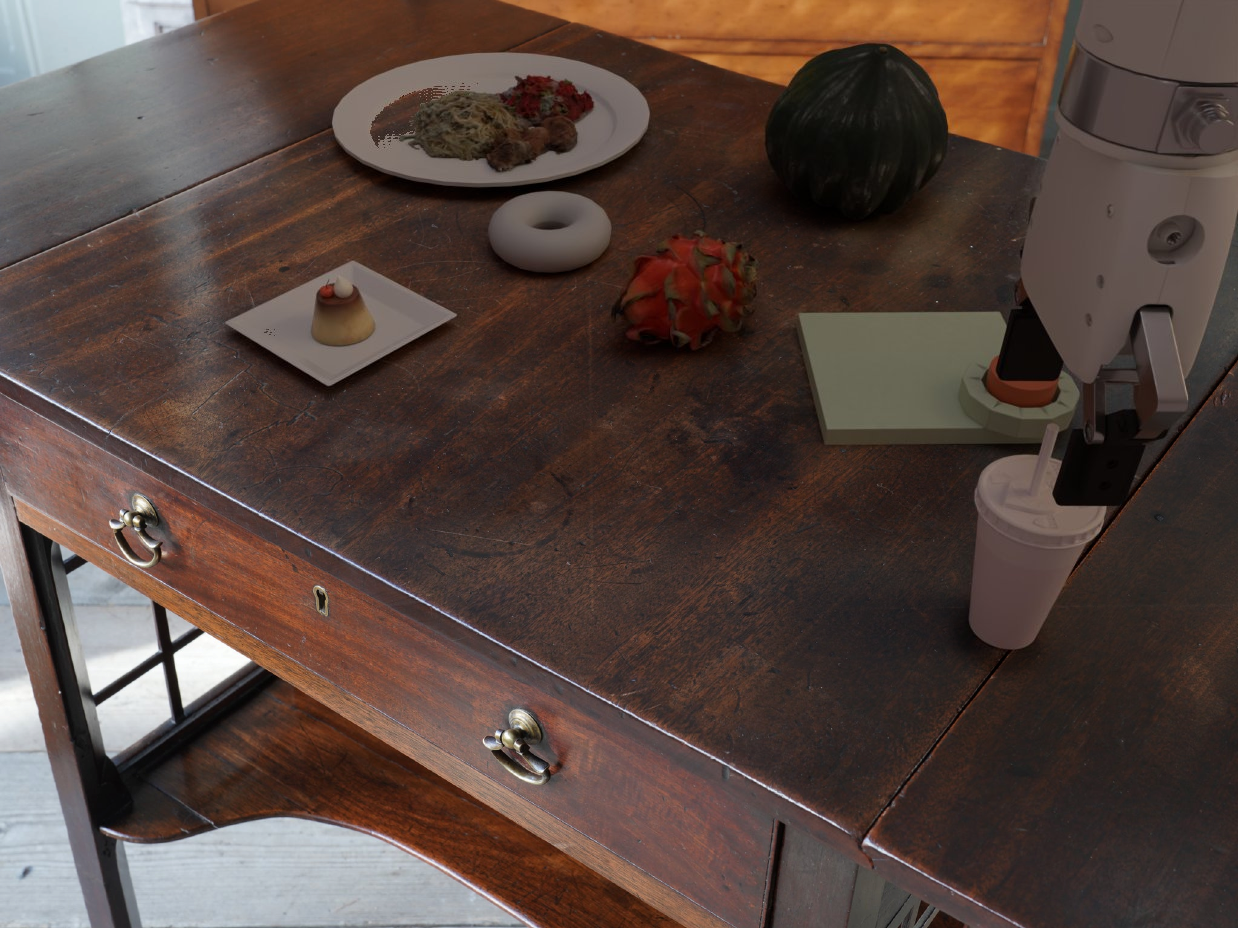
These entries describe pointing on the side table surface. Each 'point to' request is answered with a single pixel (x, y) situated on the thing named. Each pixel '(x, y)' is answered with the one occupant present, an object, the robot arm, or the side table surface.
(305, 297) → the dessert
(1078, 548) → the smoothie
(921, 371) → the scale
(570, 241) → the donut
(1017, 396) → the button
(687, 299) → the dragon fruit
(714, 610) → the side table surface
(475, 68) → the plated food
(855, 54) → the squash
